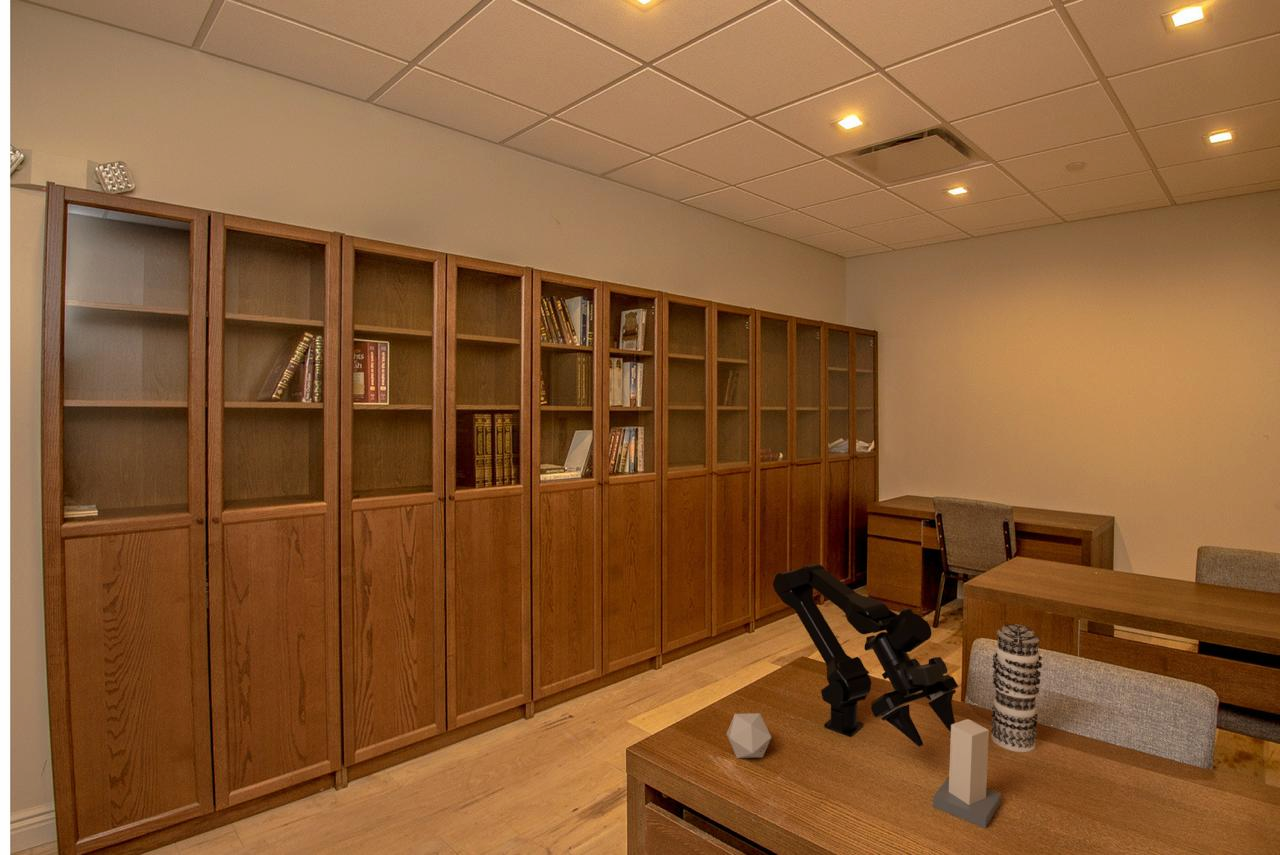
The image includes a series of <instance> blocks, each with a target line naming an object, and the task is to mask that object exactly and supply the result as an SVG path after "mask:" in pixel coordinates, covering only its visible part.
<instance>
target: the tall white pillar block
mask: <svg viewBox="0 0 1280 855" xmlns="http://www.w3.org/2000/svg"><path fill="white" fill-rule="evenodd" d="M989 731H990V730H989V729H988V728H986V727H984V726H982V725H980V724H979V723H976V722H975V721H972V720H970V719H968V718H967V719H963V720H961V721H958V722H955V724H952V725H951V732H950V743H949V744H950V747H949V748H950V749H949V773H948V774H949V776H948V777H949V792H950V793H951V794H953V795H954V796H956V797H958V798H959V799H961V800H962V801H964V802H965V803H967V804H968V805H971V804H973V803H975V802H978V801H980V800H983V799H985V798H986V788H987V779H988V778H987V775H988V761H989V760H988V757H989V756H988V753H989V738H990V737H989V735H990V734H989V733H990V732H989Z"/></svg>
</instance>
